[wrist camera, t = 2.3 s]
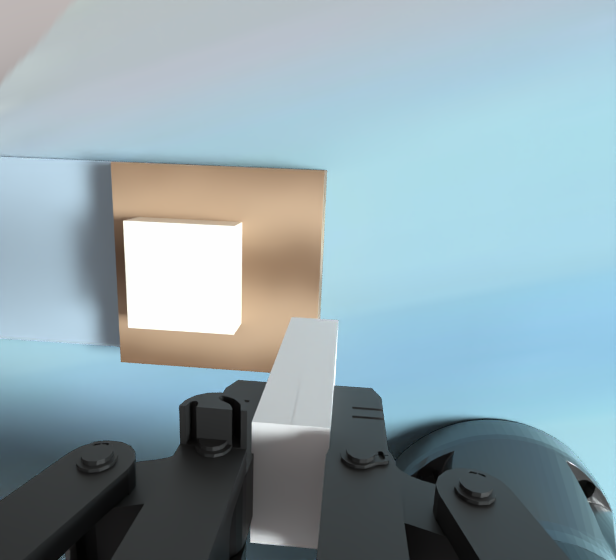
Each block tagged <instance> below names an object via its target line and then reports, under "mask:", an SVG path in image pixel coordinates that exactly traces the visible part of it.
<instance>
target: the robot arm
mask: <svg viewBox="0 0 616 560" xmlns="http://www.w3.org/2000/svg"><path fill="white" fill-rule="evenodd" d="M337 335H338V320H329V319H313V318H297V317H291V320H290V323H289V325H288V328H287V331H286V333H285V336H284V338H283V341H282V344H281V346H280V349H279V352H278V354H277V357H276V360H275V362H274V365H273V367H272V370H271V373H270V375H269V378H268V381H267V382H258V381H244V380H238V381H236V382H235V383H233V384H231V385H230V386H228V387H227V388H226V389H225V390H224V392H223V393H205V394H200V395H196V396H194V397H191V398H189V399H187V400H185V401H184V402H183V403H182V404H181V405H179V414H180V445H179V447H178V449H177V450H176V452H175V454H174V455H173V456H171V457H168V458H163V459H158V460H149V461H141V462H136V456H135V451H134V450H133V449H132V447H131V446H129V445H127V444H125V443H123V442H116V441H102V442H101V441H98V442H93V443H91V444H87V445H84V446H81V447H79V448H77V449H75V450H73V451H71V452H70V453H68V454H67V455H65V456H64V457H62V458H61V459H59V460H58V461H57V462H55V463H54V464H52V465H51V466H49V467H48V468H47V469H45V470H44V471H42V472H41V473H39V474H38V475H37V476H35V477H34V478H32V479H31V480H29V481H28V482H27V483H25V484H24V485H22V486H21V487H19V488H18V489H17V490H15V491H14V492H12V493H11V494H10V495H8V496H7V497H5V498H4V499H2V500H1V501H0V560H58V559H59V558H60V557H61V556H62V555H63V554H64V553H65V555H66V560H246V539H247V535H248V531H249V528H250V543H259V544H270V545H280V546H290V547H301V548H311V549H317V560H616V523H615V519H614V515H613V512H612V509H611V506H610V504H609V501H608V499H607V497H606V495H605V493H604V492H603V490H602V488H601V487H600V485H599V483H598V482H597V481H596V479H595V478H594V477H593V475H592V474H591V473H590V472H589V470H588V469H587V468H586V466H585V465H584V464H583V463H582V461H581V460H580V459H579V458H578V457H577V455H576V454H575V453H574V452H573V451H571V450H570V449H569V448H568V447H567V446H566V445H564V444H563V443H562V442H560V441H559V440H557V439H556V438H554V437H553V436H551V435H549V434H547V433H545V432H543V431H541V430H538V429H536V428H533V427H530V426H527V425H524V424H520V423H516V422H510V421H503V420H475V421H467V422H462V423H457V424H454V425H450V426H447V427H444V428H441V429H439V430H437V431H434V432H432V433H430V434H428V435H426V436H425V437H423V438H421V439H420V440H418V441H417V442H415V443H414V444H412V445H411V446H410V447H409V448H407V449H406V450H405V451H404V452H403V453H402V454H401V455H400V456H399V457H398V458H397V459H396V460H394V458H393V456H392V454H391V453H390V452H389V451H388V445H387V437H386V430H385V422H384V414H383V407H382V399H381V397H380V396H379V395H378V394H377V393H376V392H375V391H374V390H373V389H372V388H360V387H347V386H335V371H336V353H337Z"/></svg>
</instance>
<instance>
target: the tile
mask: <svg viewBox="0 0 616 560" xmlns="http://www.w3.org/2000/svg"><path fill="white" fill-rule="evenodd" d="M123 229H124V250H125V271H126V292H127V313H128V328H140V329H155V330H170V331H185V332H200V333H215V334H230V335H234V333H235V332H236V331H237V329H238V328H239V326H240V325H241V309H242V222H233V221H212V220H192V219H172V218H152V217H136V218H132V219H128V220H124V221H123Z"/></svg>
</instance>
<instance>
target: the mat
mask: <svg viewBox="0 0 616 560" xmlns="http://www.w3.org/2000/svg"><path fill="white" fill-rule="evenodd" d="M111 162H116V161H92V160H68V159H44V158H20V157H0V338H1V339H15V340H30V341H44V342H59V343H73V344H88V345H102V346H117V347H120V333H119V314H118V295H117V275H116V256H115V237H114V217H113V198H112V179H111Z"/></svg>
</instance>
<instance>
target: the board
mask: <svg viewBox="0 0 616 560" xmlns="http://www.w3.org/2000/svg"><path fill="white" fill-rule="evenodd" d="M111 179H112V198H113V217H114V237H115V256H116V275H117V295H118V314H119V333H120V353H121V362H128V363H142V364H156V365H170V366H184V367H198V368H212V369H226V370H240V371H254V372H268V373H271V370H272V367H273V365H274V362H275V360H276V357H277V354H278V352H279V349H280V346H281V344H282V341H283V338H284V336H285V333H286V331H287V328H288V325H289V323H290V320H291V317H297V318H313V319H320V308H321V287H322V266H323V245H324V223H325V202H326V181H327V170H310V169H286V168H261V167H237V166H213V165H189V164H165V163H141V162H111ZM136 217H152V218H172V219H192V220H212V221H233V222H242V309H241V325H240V326H239V328H238V329H237V331H236V332H235V333H234V335H230V334H215V333H200V332H185V331H170V330H155V329H140V328H128V313H127V292H126V271H125V250H124V229H123V221H124V220H128V219H132V218H136Z"/></svg>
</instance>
